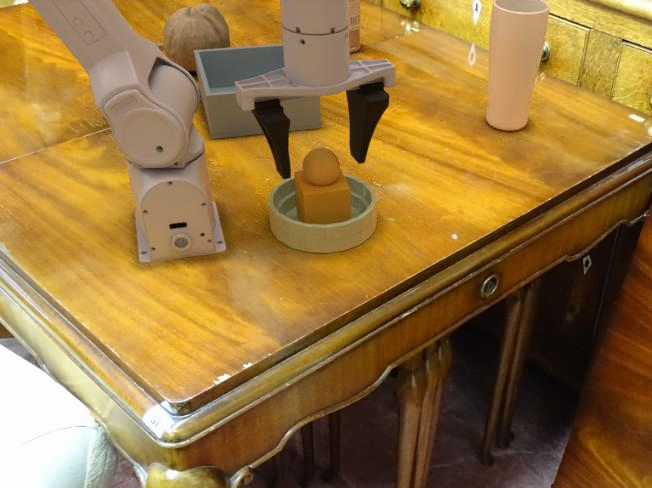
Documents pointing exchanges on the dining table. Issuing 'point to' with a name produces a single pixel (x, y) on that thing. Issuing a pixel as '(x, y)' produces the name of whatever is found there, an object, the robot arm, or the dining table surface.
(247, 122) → the bin
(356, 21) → the sprinkles bottle
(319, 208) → the orange ball-topped block
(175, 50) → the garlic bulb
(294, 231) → the bowl
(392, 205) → the dining table surface
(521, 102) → the drinking glass
